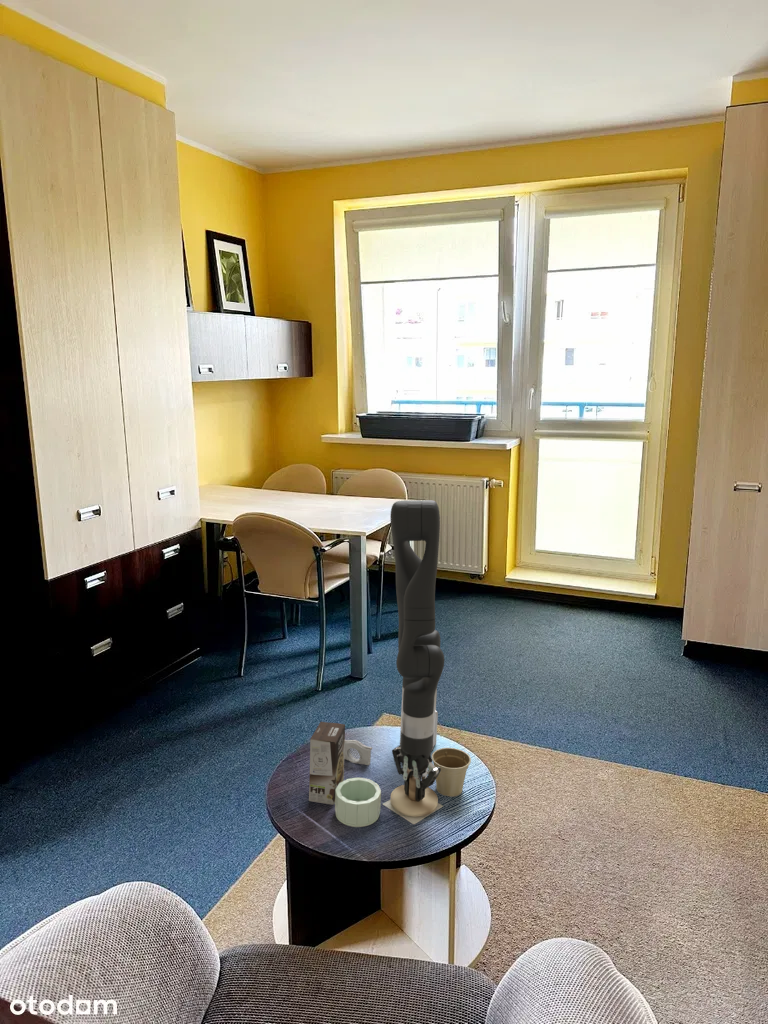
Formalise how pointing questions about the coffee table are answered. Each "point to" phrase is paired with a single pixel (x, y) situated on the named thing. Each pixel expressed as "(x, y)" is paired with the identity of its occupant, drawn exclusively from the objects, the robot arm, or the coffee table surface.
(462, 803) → the coffee table surface
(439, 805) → the mat
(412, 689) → the robot arm
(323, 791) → the coffee box
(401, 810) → the lid
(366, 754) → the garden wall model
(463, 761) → the flower pot
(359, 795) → the bowl
